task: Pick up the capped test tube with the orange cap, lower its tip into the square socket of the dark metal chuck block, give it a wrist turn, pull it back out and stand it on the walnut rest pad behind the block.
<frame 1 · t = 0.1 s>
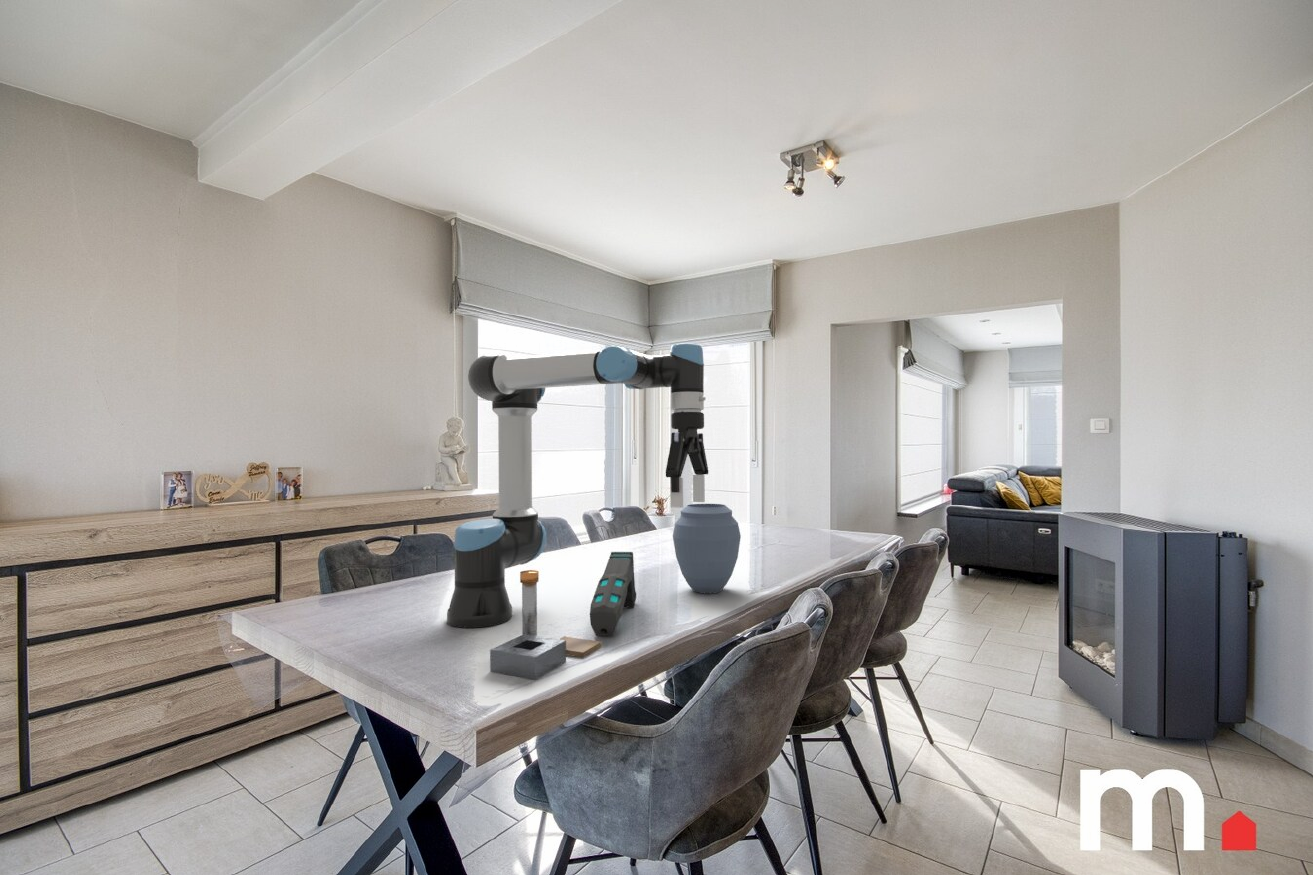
hand: (688, 504, 136), 28 cm above the table, fingers open, 13 cm apart
rest pad: (573, 648, 122), on the table
capped test tube: (529, 643, 125), on the table
gun: (615, 620, 143), on the table
chuck block: (529, 666, 112), on the table
vase: (707, 591, 170), on the table
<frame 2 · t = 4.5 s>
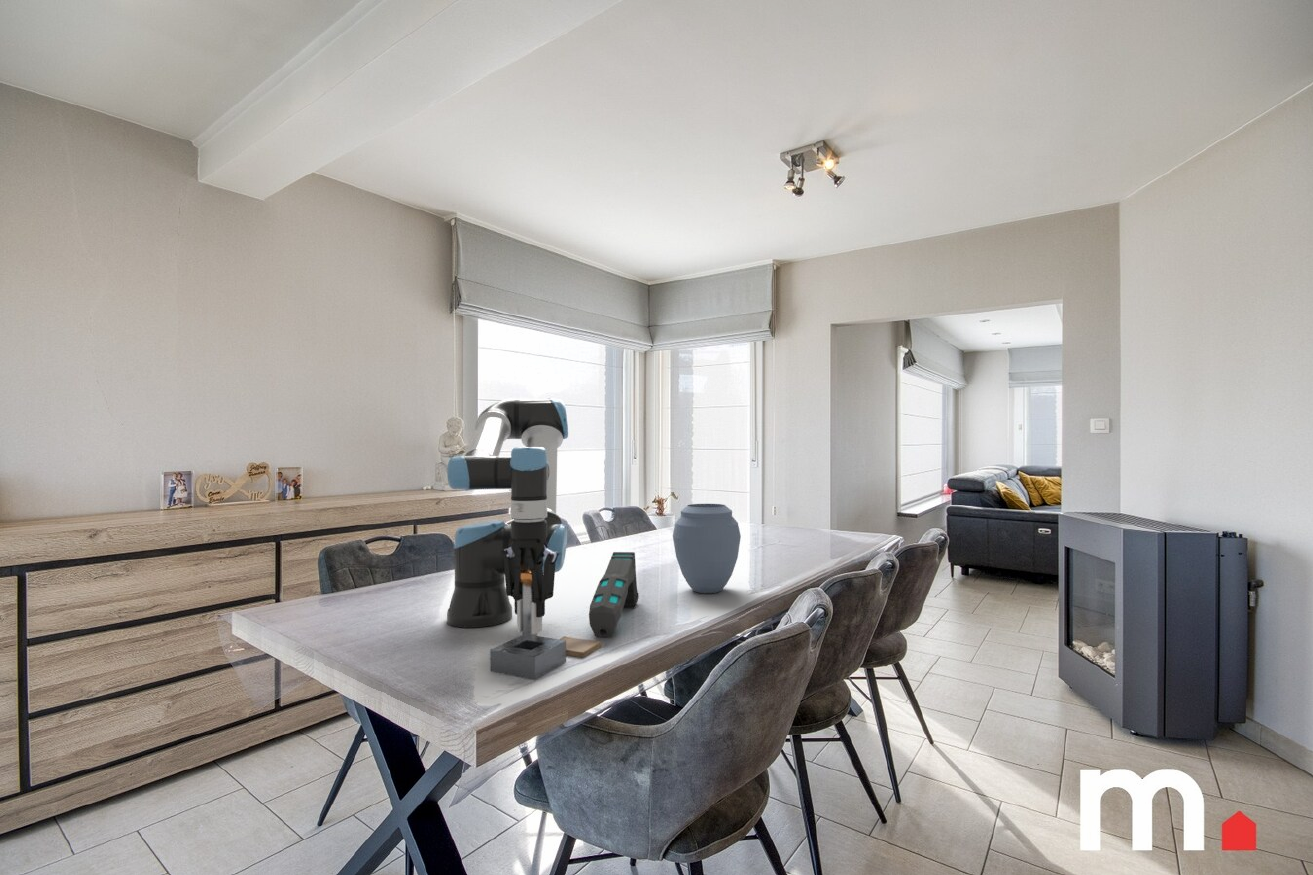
hand: (529, 630, 126), 3 cm above the table, fingers closed on capped test tube, 3 cm apart
capped test tube: (529, 642, 126), on the table, touching gripper
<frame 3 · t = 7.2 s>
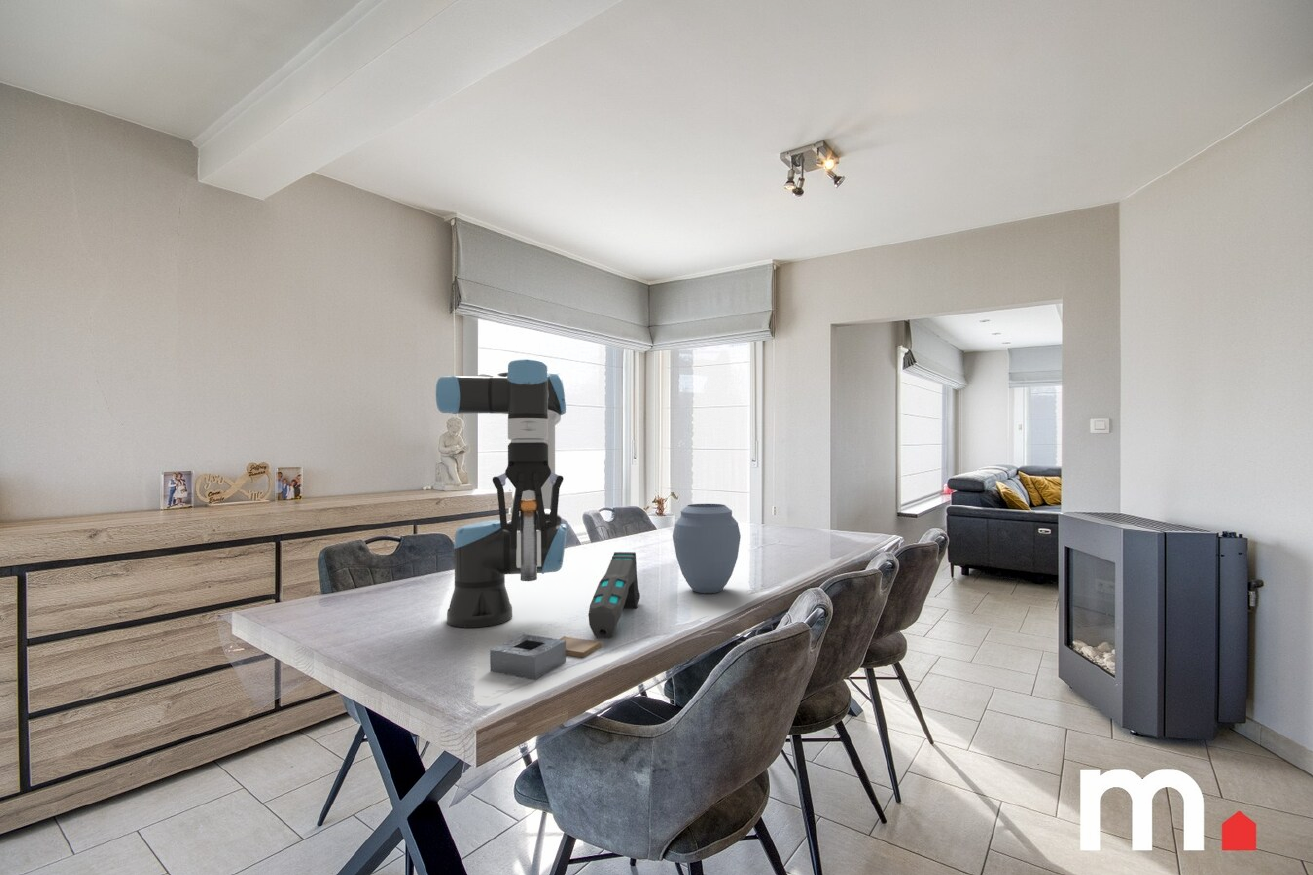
hand: (528, 565, 112), 19 cm above the table, fingers closed on capped test tube, 3 cm apart
capped test tube: (528, 579, 112), point 16 cm above the table, touching gripper
everything else where it was.
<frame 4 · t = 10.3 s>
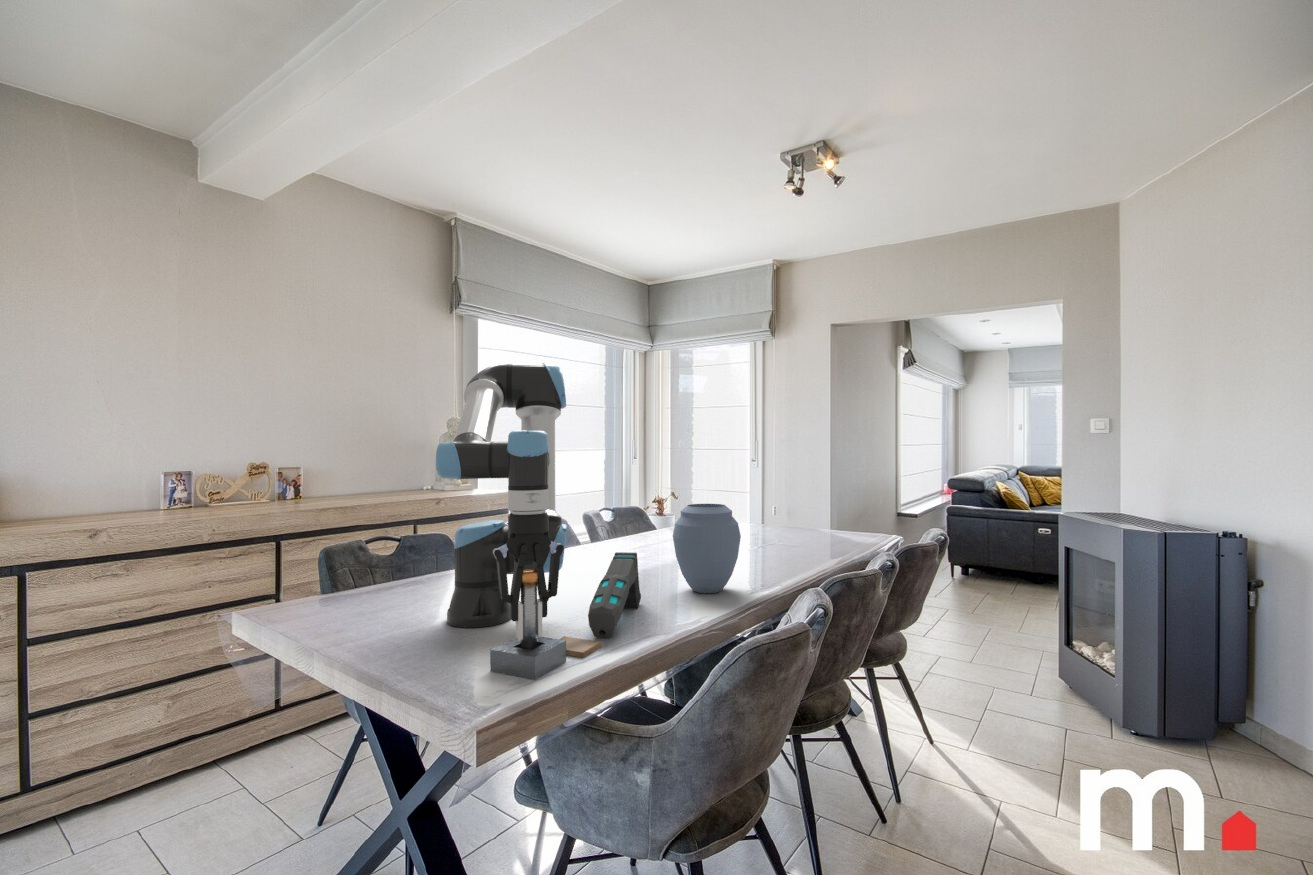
hand: (529, 635, 112), 6 cm above the table, fingers closed on capped test tube, 3 cm apart
capped test tube: (529, 651, 112), point 3 cm above the table, touching gripper
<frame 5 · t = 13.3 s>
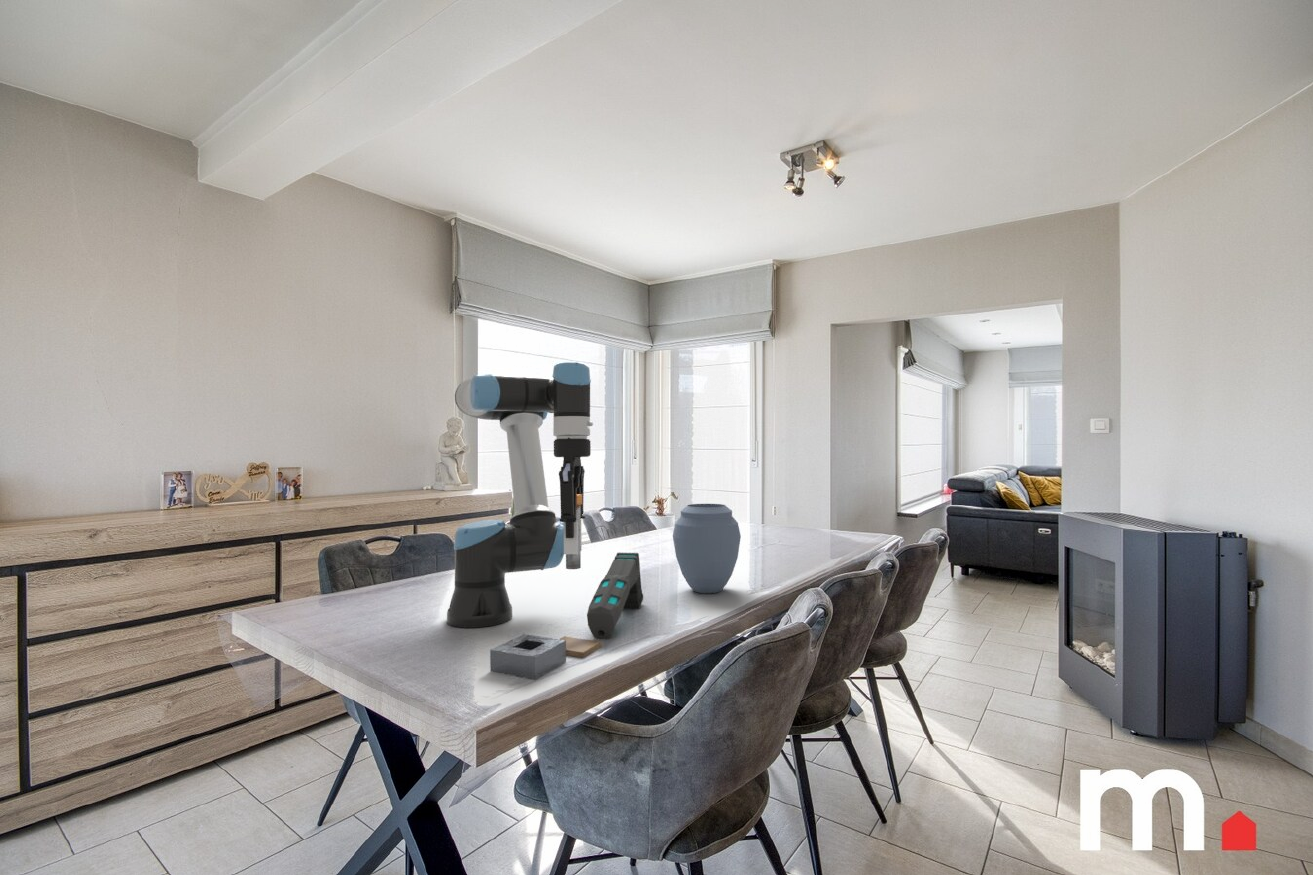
hand: (572, 552, 122), 20 cm above the table, fingers closed on capped test tube, 3 cm apart
capped test tube: (573, 567, 122), point 17 cm above the table, touching gripper
when the fingers open (5 cm above the table, at t = 16.1 s): capped test tube stays where it is, resting on rest pad.
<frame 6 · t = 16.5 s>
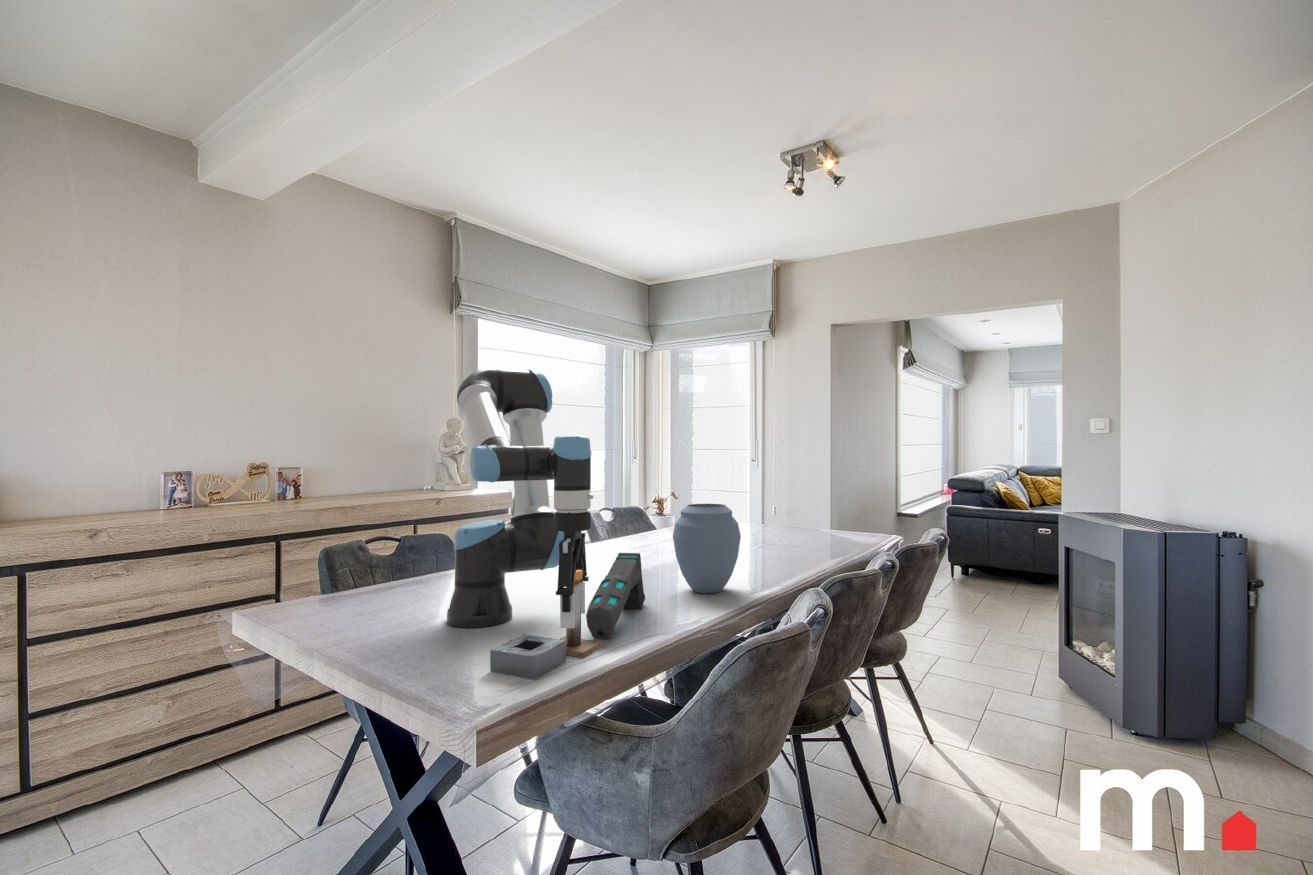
hand: (573, 620, 122), 6 cm above the table, fingers open, 9 cm apart
capped test tube: (573, 643, 122), point 1 cm above the table, touching rest pad
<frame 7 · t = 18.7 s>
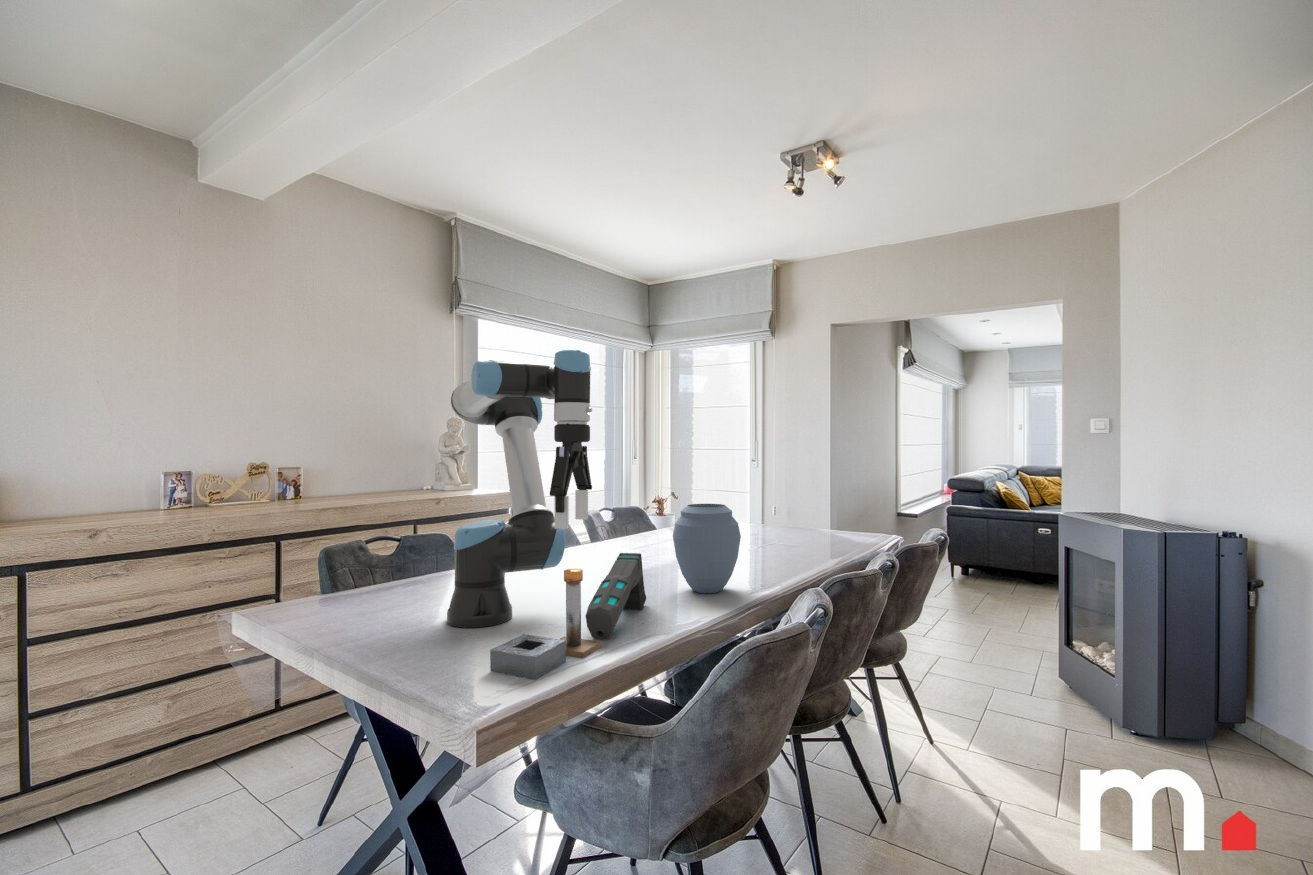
hand: (572, 523, 126), 25 cm above the table, fingers open, 13 cm apart
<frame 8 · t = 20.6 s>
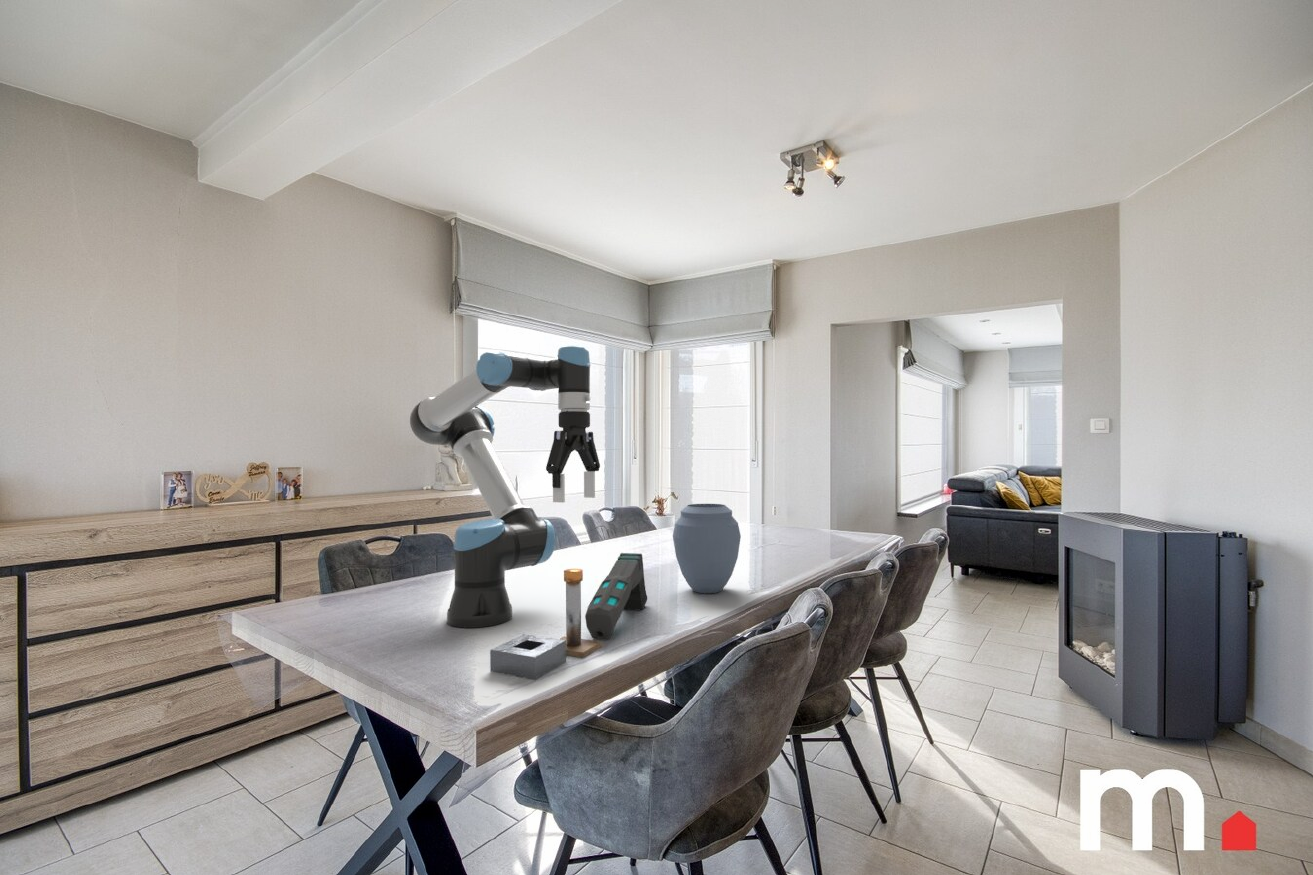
hand: (574, 499, 142), 29 cm above the table, fingers open, 13 cm apart
at the end: capped test tube inside the target area on the rest pad (0.1 cm from its centre), point 1.0 cm above the rest pad's base; capped test tube tilted 0°; the gripper is holding nothing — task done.
